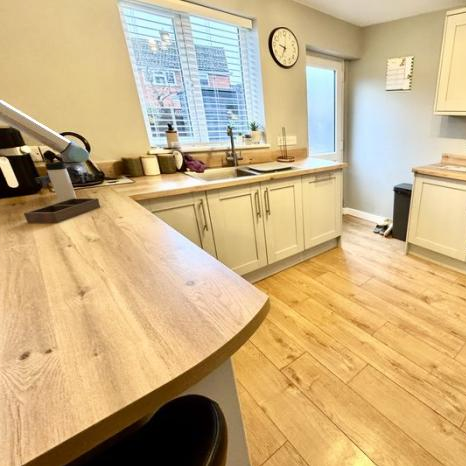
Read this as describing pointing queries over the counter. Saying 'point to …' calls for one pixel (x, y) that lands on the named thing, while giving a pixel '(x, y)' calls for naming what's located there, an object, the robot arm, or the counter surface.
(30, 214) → the tray
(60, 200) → the travel mug
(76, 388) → the counter surface
